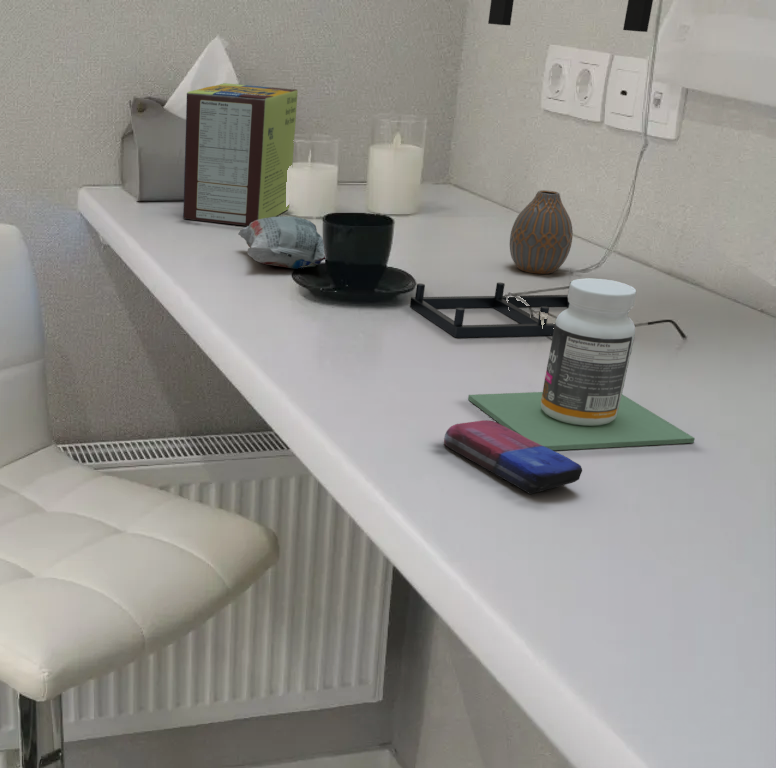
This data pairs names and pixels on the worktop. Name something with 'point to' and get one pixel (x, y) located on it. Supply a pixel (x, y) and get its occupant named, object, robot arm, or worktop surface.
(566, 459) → the eraser
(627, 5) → the robot arm
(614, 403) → the pill bottle
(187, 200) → the protein box
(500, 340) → the worktop surface
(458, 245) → the worktop surface
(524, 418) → the mat
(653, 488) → the worktop surface
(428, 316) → the black rectangular frame
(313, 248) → the packaged food
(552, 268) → the vase
